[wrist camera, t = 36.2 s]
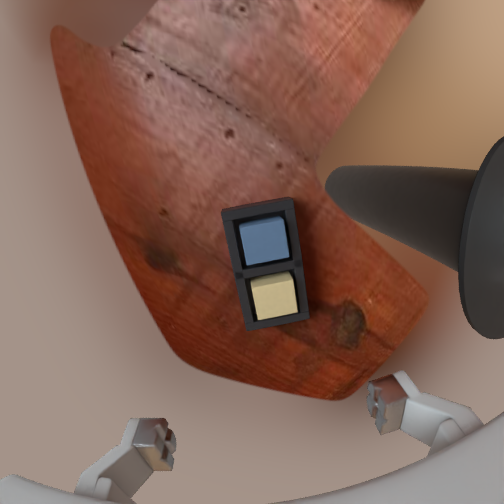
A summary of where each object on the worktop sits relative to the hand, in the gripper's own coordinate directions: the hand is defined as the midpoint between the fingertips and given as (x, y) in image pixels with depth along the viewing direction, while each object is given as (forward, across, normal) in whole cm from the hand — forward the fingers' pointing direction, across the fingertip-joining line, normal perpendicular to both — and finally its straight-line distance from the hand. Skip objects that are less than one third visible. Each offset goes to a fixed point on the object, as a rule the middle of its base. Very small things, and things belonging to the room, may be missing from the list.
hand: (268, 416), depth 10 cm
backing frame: (+25, -2, +2) cm, 25 cm away
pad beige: (+24, -2, +5) cm, 25 cm away
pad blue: (+24, -2, -1) cm, 24 cm away
